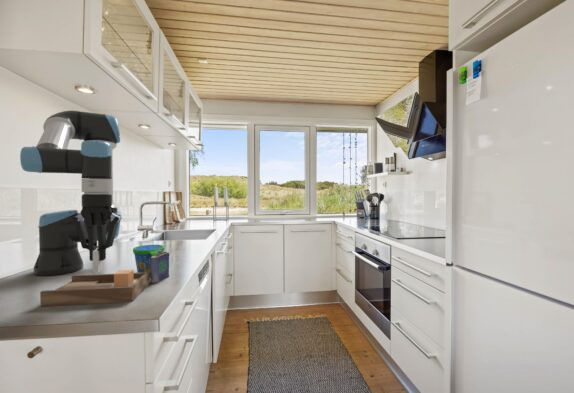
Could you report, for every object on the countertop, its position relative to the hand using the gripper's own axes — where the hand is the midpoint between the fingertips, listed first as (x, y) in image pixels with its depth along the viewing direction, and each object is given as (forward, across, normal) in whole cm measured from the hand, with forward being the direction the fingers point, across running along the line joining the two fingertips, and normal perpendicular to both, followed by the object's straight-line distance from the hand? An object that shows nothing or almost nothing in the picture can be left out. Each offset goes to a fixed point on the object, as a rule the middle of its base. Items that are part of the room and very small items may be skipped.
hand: (97, 271), depth 85 cm
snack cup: (+8, +9, +19) cm, 22 cm away
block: (+4, +8, -1) cm, 9 cm away
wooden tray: (+7, +1, -1) cm, 7 cm away
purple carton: (+7, +15, +11) cm, 20 cm away
